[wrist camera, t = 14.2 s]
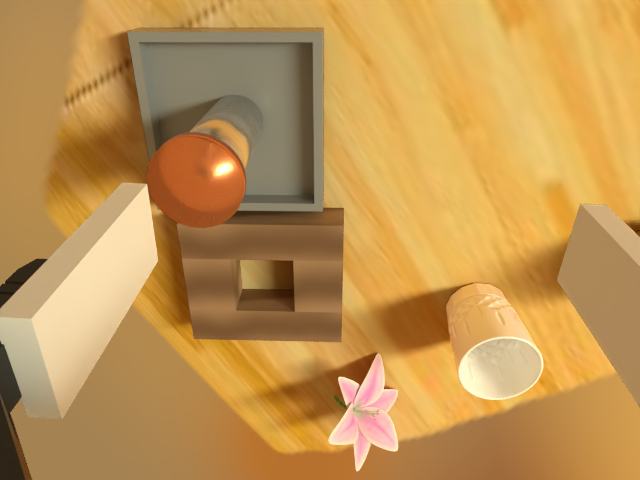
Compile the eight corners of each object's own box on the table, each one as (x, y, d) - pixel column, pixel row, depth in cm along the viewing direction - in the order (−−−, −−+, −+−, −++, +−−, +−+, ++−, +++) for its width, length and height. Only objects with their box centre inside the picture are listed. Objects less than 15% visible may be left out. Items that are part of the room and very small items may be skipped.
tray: (139, 27, 44) (127, 31, 42) (323, 27, 44) (322, 31, 41) (166, 197, 52) (157, 209, 49) (323, 198, 52) (322, 211, 49)
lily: (389, 422, 68) (428, 461, 59) (305, 448, 64) (333, 493, 55) (382, 336, 66) (421, 363, 57) (295, 357, 62) (322, 389, 53)
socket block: (187, 206, 52) (176, 223, 49) (343, 208, 52) (343, 225, 48) (202, 316, 59) (194, 338, 56) (341, 319, 59) (341, 342, 55)
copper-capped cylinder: (198, 86, 46) (139, 137, 32) (269, 86, 45) (239, 137, 32) (206, 155, 49) (154, 227, 35) (273, 155, 49) (246, 228, 35)
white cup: (479, 264, 54) (506, 322, 46) (527, 305, 57) (560, 368, 48) (425, 309, 57) (440, 371, 49) (472, 346, 60) (495, 412, 51)
